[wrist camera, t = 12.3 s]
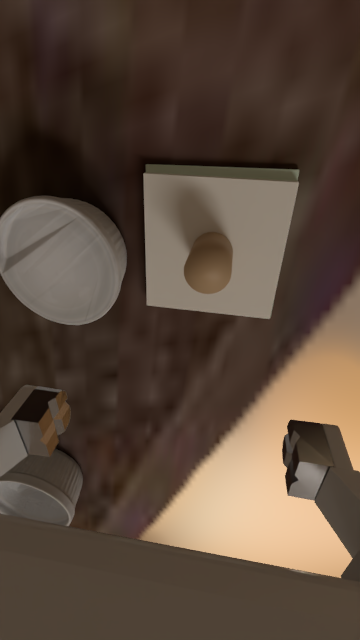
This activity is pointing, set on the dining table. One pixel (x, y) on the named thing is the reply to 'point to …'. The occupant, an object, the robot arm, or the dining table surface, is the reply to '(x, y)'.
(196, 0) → the dining table surface
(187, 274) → the cover
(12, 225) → the ramekin
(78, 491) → the ramekin
